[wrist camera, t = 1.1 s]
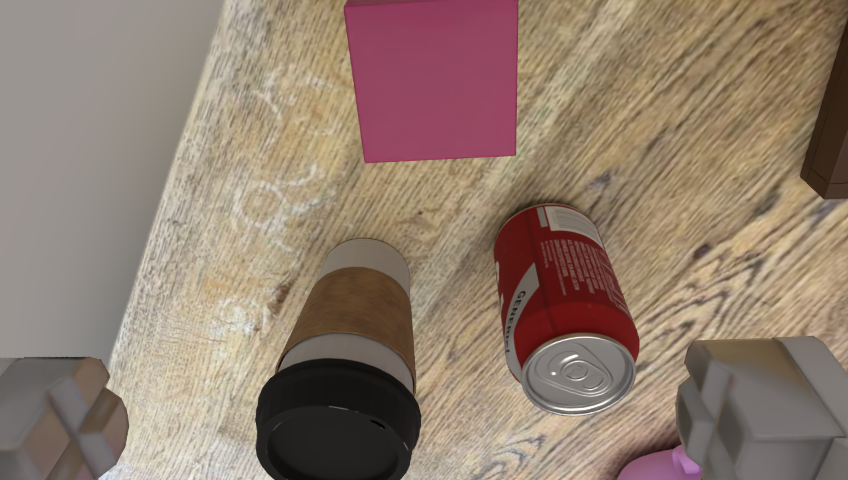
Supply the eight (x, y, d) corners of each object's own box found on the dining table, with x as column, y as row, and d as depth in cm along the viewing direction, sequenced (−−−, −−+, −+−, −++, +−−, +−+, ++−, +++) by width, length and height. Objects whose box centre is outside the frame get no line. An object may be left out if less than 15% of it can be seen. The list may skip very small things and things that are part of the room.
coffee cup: (453, 269, 41) (456, 458, 28) (376, 338, 44) (349, 532, 32) (354, 197, 38) (308, 371, 25) (281, 277, 42) (209, 464, 29)
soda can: (541, 177, 37) (577, 303, 27) (619, 234, 39) (679, 370, 29) (472, 250, 40) (480, 386, 30) (547, 298, 42) (579, 442, 32)
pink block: (363, -26, 21) (342, 6, 17) (504, -36, 21) (518, -6, 17) (378, 108, 24) (364, 163, 20) (504, 101, 24) (516, 156, 20)
